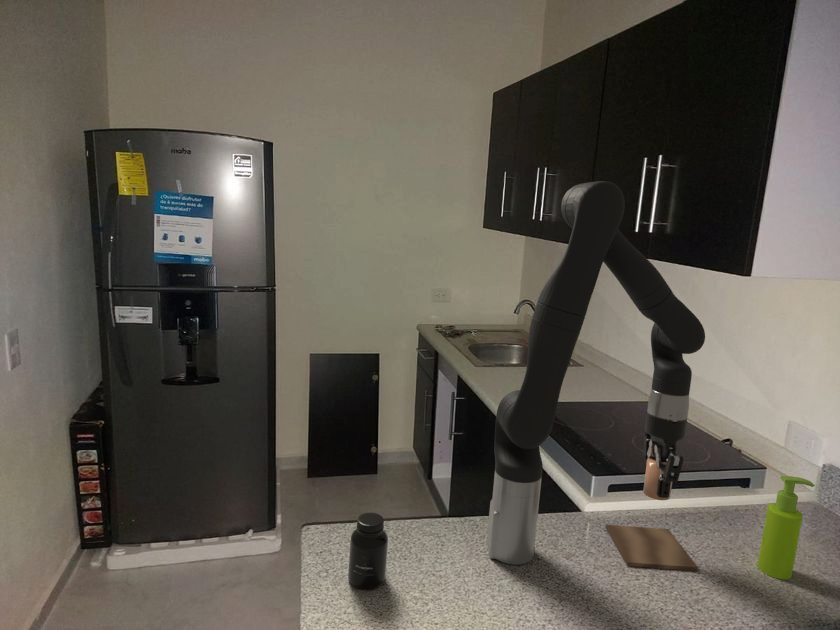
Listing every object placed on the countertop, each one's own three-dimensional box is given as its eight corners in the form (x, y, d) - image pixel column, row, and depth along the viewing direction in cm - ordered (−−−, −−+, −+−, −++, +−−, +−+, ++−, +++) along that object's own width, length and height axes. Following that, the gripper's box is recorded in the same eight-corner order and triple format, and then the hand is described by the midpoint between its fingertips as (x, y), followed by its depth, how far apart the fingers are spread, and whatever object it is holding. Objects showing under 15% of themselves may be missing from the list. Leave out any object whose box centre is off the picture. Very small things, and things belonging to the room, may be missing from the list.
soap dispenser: (802, 582, 107) (820, 487, 104) (764, 576, 109) (781, 482, 106) (789, 565, 113) (806, 474, 110) (752, 559, 114) (768, 469, 111)
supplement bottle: (356, 595, 96) (359, 532, 94) (342, 573, 102) (345, 513, 100) (391, 585, 99) (395, 524, 97) (377, 564, 105) (380, 506, 103)
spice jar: (648, 499, 112) (653, 467, 111) (639, 487, 117) (643, 456, 116) (674, 501, 112) (678, 468, 111) (664, 489, 117) (668, 458, 116)
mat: (627, 565, 109) (627, 562, 109) (605, 527, 123) (605, 524, 123) (697, 570, 109) (697, 567, 109) (667, 532, 123) (668, 529, 123)
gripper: (635, 400, 119) (626, 473, 121) (663, 423, 104) (652, 506, 107) (670, 402, 118) (660, 476, 121) (702, 426, 104) (690, 508, 107)
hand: (657, 489), depth 114 cm, fingers closed on spice jar, 5 cm apart
